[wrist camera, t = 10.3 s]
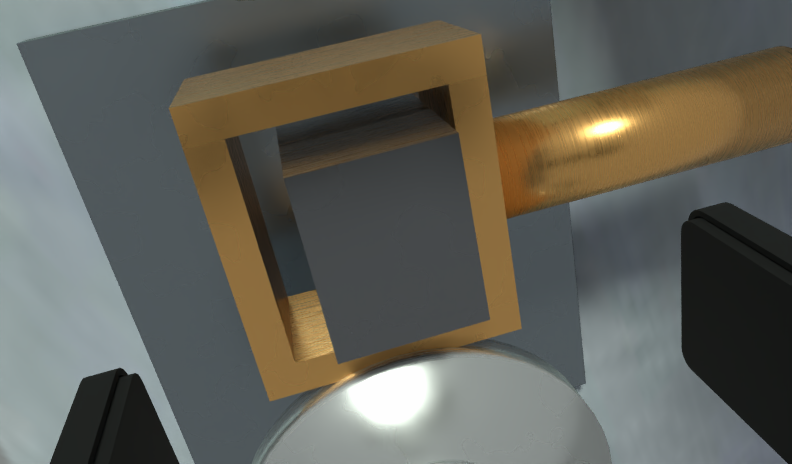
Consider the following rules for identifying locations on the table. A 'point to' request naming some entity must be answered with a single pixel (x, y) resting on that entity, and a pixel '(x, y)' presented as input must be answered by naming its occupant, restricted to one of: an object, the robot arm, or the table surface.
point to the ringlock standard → (280, 239)
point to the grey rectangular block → (384, 224)
